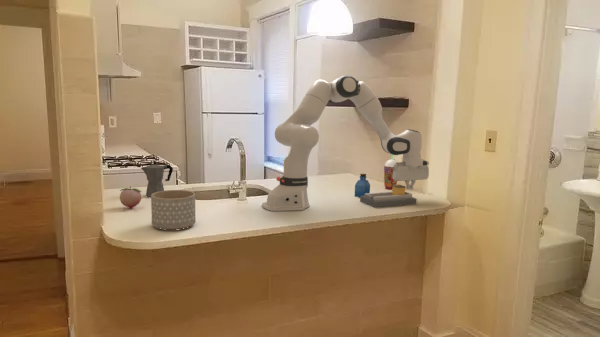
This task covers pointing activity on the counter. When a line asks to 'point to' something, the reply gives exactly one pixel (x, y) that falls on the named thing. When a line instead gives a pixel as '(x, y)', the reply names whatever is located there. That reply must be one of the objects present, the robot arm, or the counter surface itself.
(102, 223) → the counter surface
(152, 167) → the coffeepot
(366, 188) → the perfume bottle
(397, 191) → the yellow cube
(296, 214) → the counter surface
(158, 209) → the planter
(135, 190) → the decorative fruit
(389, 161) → the smoothie
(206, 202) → the counter surface
